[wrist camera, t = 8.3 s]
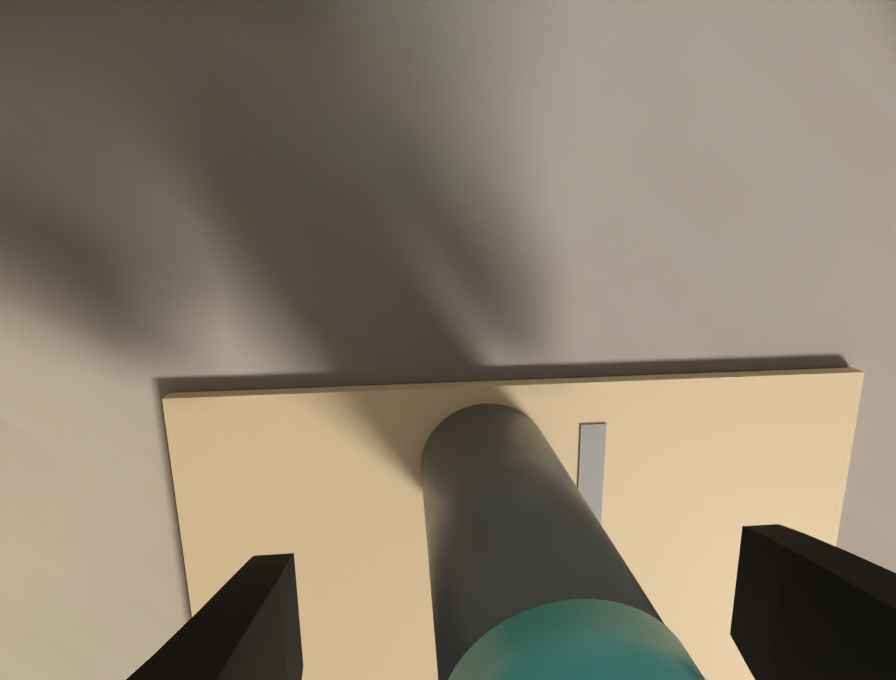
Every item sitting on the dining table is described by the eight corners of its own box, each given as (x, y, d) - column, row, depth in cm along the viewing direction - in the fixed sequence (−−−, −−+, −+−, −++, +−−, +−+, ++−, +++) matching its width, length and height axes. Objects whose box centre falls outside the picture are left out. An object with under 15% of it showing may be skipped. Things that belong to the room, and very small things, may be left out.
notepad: (788, 763, 16) (799, 778, 16) (226, 815, 15) (220, 833, 15) (851, 367, 14) (865, 372, 13) (169, 392, 12) (161, 399, 12)
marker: (549, 521, 13) (755, 948, 6) (420, 528, 13) (450, 984, 5) (553, 398, 13) (793, 692, 5) (416, 404, 12) (444, 723, 5)
